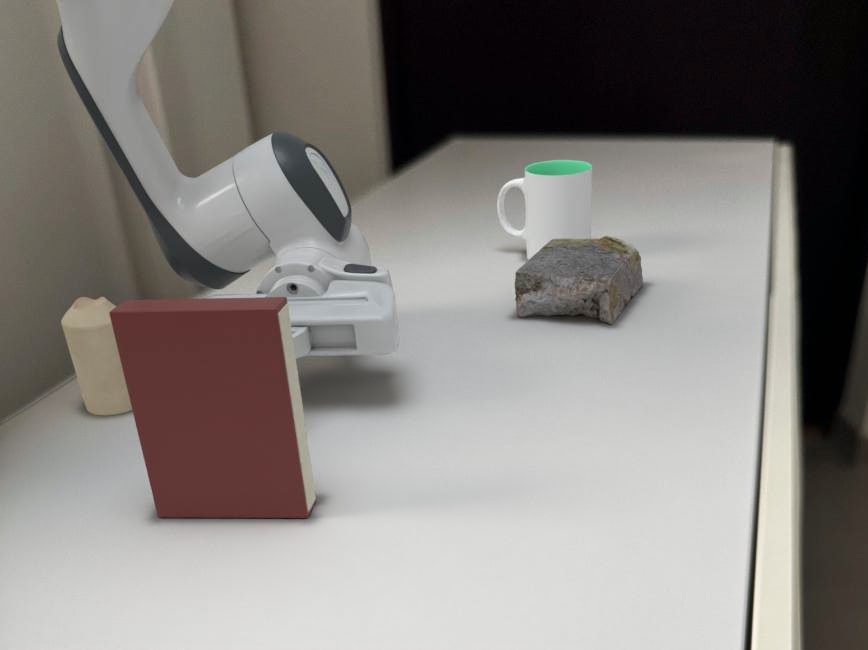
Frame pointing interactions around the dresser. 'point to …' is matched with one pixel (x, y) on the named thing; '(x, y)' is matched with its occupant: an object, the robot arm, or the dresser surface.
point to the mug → (552, 203)
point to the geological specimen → (579, 278)
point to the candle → (96, 356)
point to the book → (217, 406)
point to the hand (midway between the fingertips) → (267, 358)
